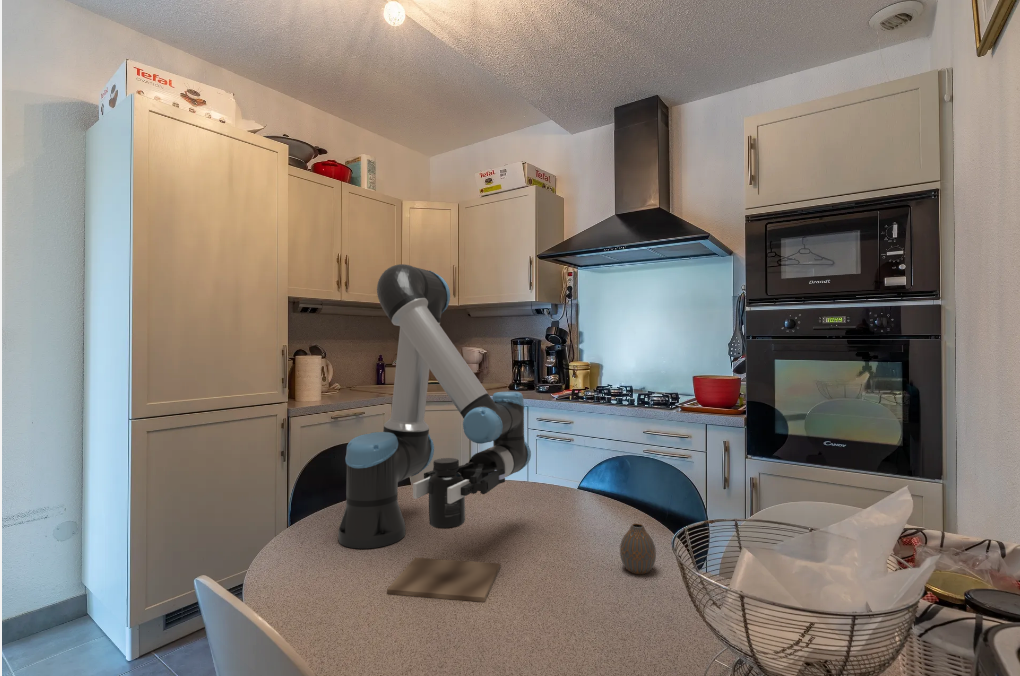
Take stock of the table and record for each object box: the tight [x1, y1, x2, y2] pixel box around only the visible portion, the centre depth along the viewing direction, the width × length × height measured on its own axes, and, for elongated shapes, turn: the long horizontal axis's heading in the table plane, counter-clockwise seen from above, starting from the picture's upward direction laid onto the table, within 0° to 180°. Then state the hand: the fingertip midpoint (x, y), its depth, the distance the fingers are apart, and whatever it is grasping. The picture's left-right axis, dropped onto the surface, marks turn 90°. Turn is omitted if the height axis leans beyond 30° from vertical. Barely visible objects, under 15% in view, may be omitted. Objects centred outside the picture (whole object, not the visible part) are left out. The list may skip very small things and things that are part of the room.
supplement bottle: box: [428, 457, 466, 530], centre depth 97 cm, size 7×7×12 cm
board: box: [386, 557, 502, 603], centre depth 96 cm, size 18×14×1 cm
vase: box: [619, 522, 657, 575], centre depth 100 cm, size 7×7×9 cm
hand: (431, 493), depth 92 cm, fingers closed on supplement bottle, 7 cm apart
